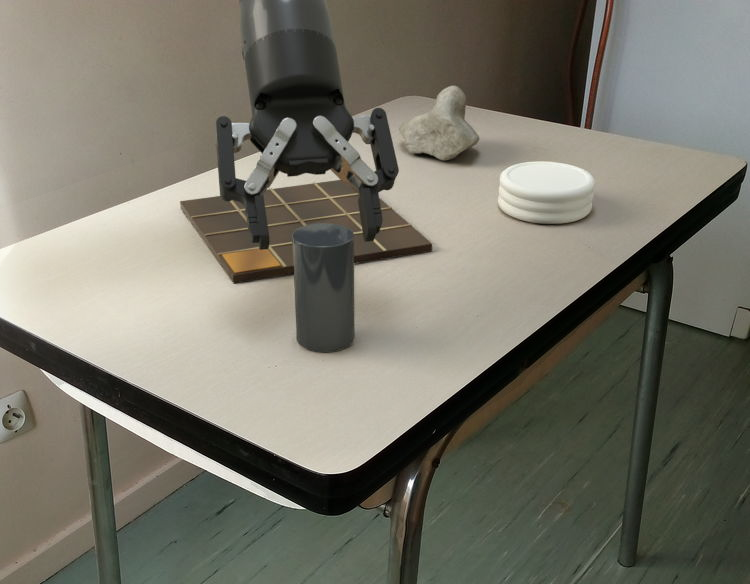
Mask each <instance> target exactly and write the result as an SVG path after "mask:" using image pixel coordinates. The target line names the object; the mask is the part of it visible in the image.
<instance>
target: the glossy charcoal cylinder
mask: <svg viewBox="0 0 750 584" xmlns="http://www.w3.org/2000/svg"><path fill="white" fill-rule="evenodd" d="M292 246H293V269H294V274H293V289H294V291H293V293H294V310H295V311H294V314H295V332H296V333H295V337H296V342H297V344H298V345H299V346H300V347H302V349H306V350H308V351H310V352H311V351H312V352H317V353H333V352H338V351H342V350H345V349H347V348H349V347H350V346H351V345H352V344H353V343H354V342H355V338H356V337H355V335H356V332H355V327H356V326H355V325H356V323H355V264H354V233H353V232H352V230H350V229H349V228H347V227H345V226H342V225H338V224H330V223H317V224H310V225H305V226H302V227H300V228H298V229H296V230H295V231H294V232H293V234H292Z"/></svg>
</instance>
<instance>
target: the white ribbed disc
mask: <svg viewBox="0 0 750 584" xmlns="http://www.w3.org/2000/svg"><path fill="white" fill-rule="evenodd" d="M595 188H596V180H595V178H594V176H593V175H592V174H591V173H590V172H589V171H587V170H586V169H583V168H582V167H579V166H576V165H572V164H568V163H563V162H557V161H543V160H541V161H527V162H521V163H516V164H513V165H511V166H508V167H507V168H506V169H504V170H503V171H502V172H501V173H500V175H499V187H498V197H497V205H498V207H499V209H500V210H501V211H502V212H503V213H504V214H506V215H508V216H510V217H511V218H513V219H516V220H519V221H524V222H528V223H534V224H540V225H541V224H542V225H559V224H561V225H562V224H568V223H569V224H570V223H572V222H576V221H579V220H582V219H583V218H586V216H588V215H589V214H590V213H591V211H592V209H593V200H594V197H595V193H594V190H595Z"/></svg>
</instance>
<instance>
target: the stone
mask: <svg viewBox="0 0 750 584" xmlns="http://www.w3.org/2000/svg"><path fill="white" fill-rule="evenodd" d="M466 107H467V98H466V95H465V93H464V92H463V90H462V89H461V88H460V87H459V86H457V85H449V86H447V87H445V88H444V89H442V90H440V92H439V93H438V94H437V96H436V99H435V100H434V103H433V105H432V108H431V109H430V111H427V112H426V113H424V114H420V115H417V116H415V117H413V118H411V119H409V120H407V121H405V122H403V123H402V124H401V125H399V127H398V132H399V134H400V135H401V136H402V138H403V139H404V144H405V147H406V149H407V150H408V152H409V153H410V154H427V155H430V156H433V157H435V158H436V159H438V160H440V161H451V160H453V159H455V158H456V157H457V156H458V155H459V154H461V153H463V152H464V151H466V150H467V149H469V148H473V147H474V146H476V145H477V144H478V143H479V142H480V140H481V137H480V135H479V134H478V132H476V130H475V129H474V128H473V126H472V125H470V124H469V123H468V122H467V120H466V119H465V118H466V117H465V116H466V109H467V108H466Z"/></svg>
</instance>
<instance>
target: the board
mask: <svg viewBox="0 0 750 584" xmlns="http://www.w3.org/2000/svg"><path fill="white" fill-rule="evenodd" d="M263 196H264V203H265V210H266V217H267V224H268V231H269V249H264V250H260V249H259V244H258V243H252V241H251V240H250V238H249V232H248V225H247V218H246V211H245V207H244V205H243V204H242V203H240V202H238V201H234V200H232V201H224V200H223V199H222V198H221V197H220V195H215V196H210V197H209V196H208V197H202V198H201V197H200V198H194V199H186V200H180V201H179V205H180V210H181V211H182V212H183V214H184V215H185V216H186V218H187V219H188V221H189V223H190V224H191V225H192V227H193V228H194V229H195V231H196V232H197V234H198V235H199V237H200V238H201V239H202V241H203V242H204V243H205V245H206V247H207V248H208V249H209V250H210V252H211V253H212V255H213V256H214V258H215V259H216V261H217V262H218V263H219V265H220V267H221V268H222V269H223V270H224V272H225V273H226V275H227V276H228V277H229V279H230V281H231V282H232V283H233V284H237V283H243V282H251V281H256V280H262V279H269V278H275V277H280V276H287V275H294V269H293V246H292V234H293V232H294V231H295V230H296V229H298V228H300V227H302V226H305V225H310V224H317V223H330V224H338V225H342V226H345V227H347V228H349V229H350V230H352V232H353V233H354V265H355V264H360V263H368V262H371V261H372V262H373V261H379V260H385V259H390V258H391V259H392V258H398V257H403V256H410V255H416V254H423V253H429V252H432V251H433V243H432V242H431V241H430V240H428V239H427V238H426V237H425V236H424V235H423V234H422V233H421V232H419V230H417V229H416V228H415V227H414V226H413V225H412V223H409V222H408V221H407V220H406V219H405V218H403V217H402V216H401V215H400V214H399V213H397V211H395V210H394V209H393V207H392V206H390V205H388V204H387V203H386V202H385V201H384V200H382V199H381V197H379V200H380V206H381V213H382V219H383V221H382V225H381V228H380V231H379V233H378V234H376V236H375V238H374V241H368V242H365V241H364V237H363V231H362V225H361V218H360V212H359V206H358V198H359V194H358V193H357V192H356V191H355V190H354V189H353V188H352V187H351V186H350V185H349V184H348V183H346V182H342V181H341V180H340V179H335V180H328V181H320V182H316V181H315V182H314V181H313V182H312V183H307V184H306V183H305V184H298V185H291V186H284V187H275V188H273V187H269V188H267V190H266V191H265V193H264V195H263Z"/></svg>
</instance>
